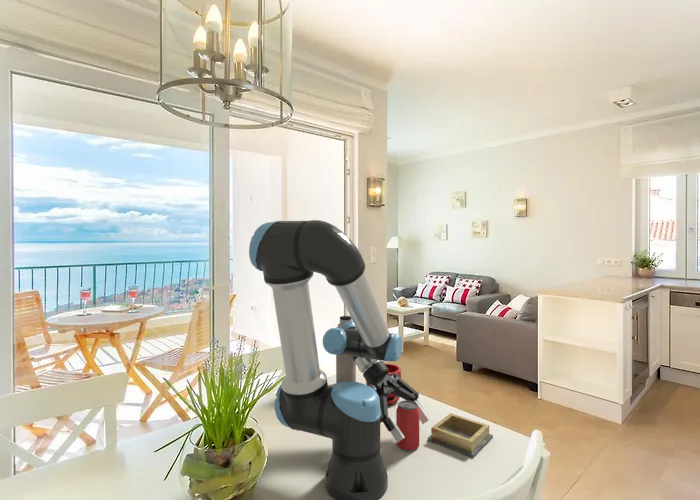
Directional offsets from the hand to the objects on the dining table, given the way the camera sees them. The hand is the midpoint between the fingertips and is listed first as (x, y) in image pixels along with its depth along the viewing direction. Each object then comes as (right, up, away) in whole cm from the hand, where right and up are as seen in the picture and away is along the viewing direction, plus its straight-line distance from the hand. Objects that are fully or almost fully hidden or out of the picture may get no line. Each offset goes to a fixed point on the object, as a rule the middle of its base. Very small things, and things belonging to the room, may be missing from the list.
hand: (414, 430), depth 111 cm
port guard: (+14, -5, +5) cm, 16 cm away
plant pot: (-6, -4, +33) cm, 34 cm away
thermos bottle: (-20, -4, +48) cm, 52 cm away
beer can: (-2, -5, +2) cm, 6 cm away
